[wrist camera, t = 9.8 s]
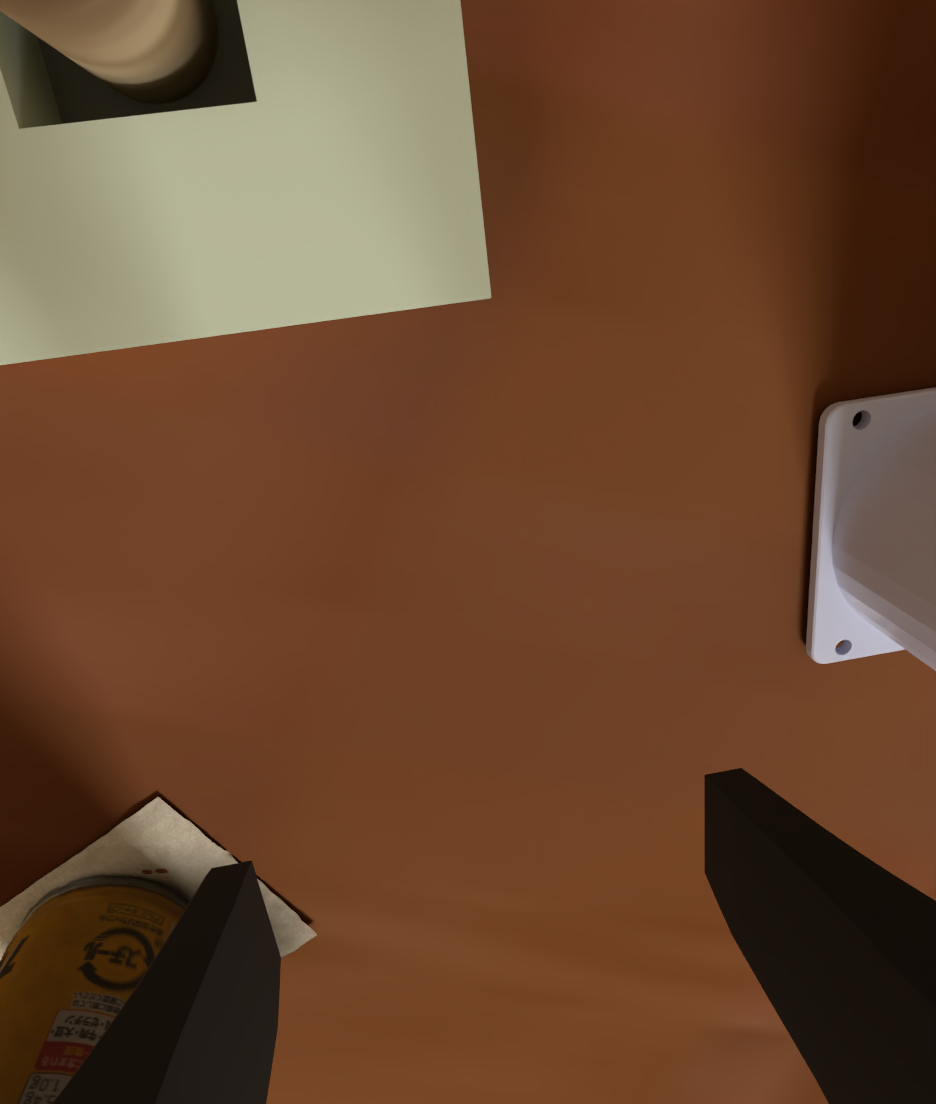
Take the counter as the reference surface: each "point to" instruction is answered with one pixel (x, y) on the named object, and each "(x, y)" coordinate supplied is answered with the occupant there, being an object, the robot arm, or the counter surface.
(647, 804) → the counter surface
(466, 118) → the hole block
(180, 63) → the dowel
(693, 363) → the counter surface
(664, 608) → the counter surface
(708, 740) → the counter surface
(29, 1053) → the condiment
